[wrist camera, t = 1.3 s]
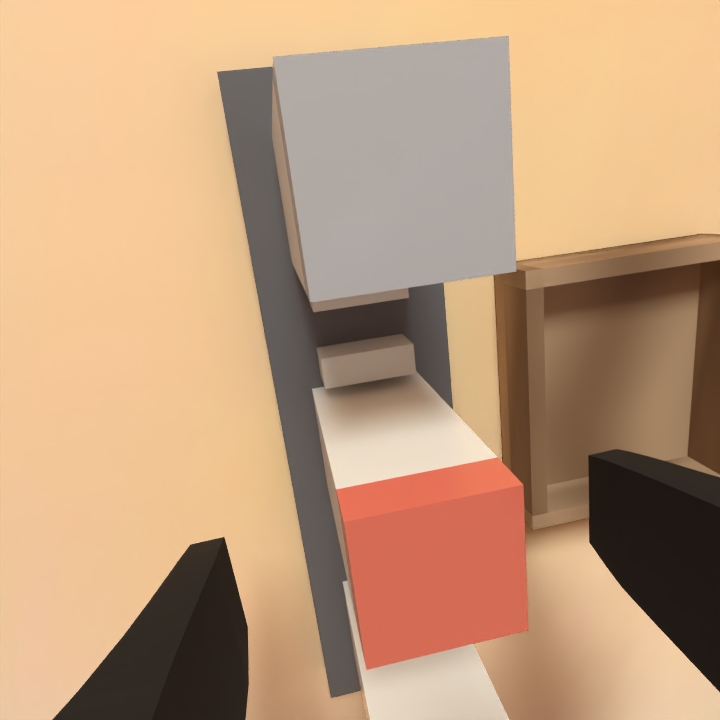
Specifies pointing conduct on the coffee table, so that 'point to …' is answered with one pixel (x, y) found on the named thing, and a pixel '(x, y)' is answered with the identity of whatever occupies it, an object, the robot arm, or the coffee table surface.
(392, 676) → the fuse slot
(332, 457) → the red cap fuse
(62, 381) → the coffee table surface
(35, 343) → the coffee table surface
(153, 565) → the coffee table surface
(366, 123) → the block
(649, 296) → the tray
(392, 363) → the block
